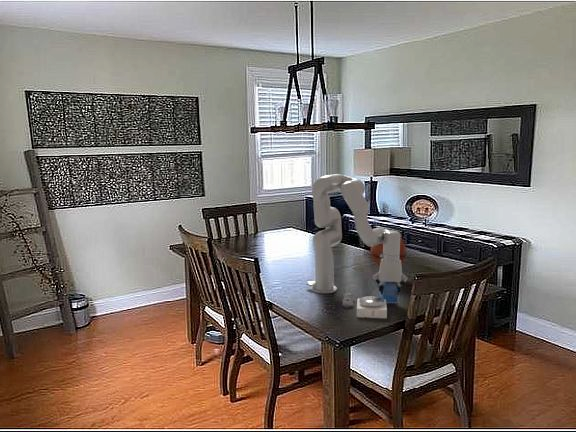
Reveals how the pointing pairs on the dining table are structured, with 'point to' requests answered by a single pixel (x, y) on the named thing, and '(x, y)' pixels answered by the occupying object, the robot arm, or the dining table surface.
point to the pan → (371, 301)
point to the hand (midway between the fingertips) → (389, 293)
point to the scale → (371, 310)
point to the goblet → (378, 250)
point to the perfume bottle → (389, 292)
